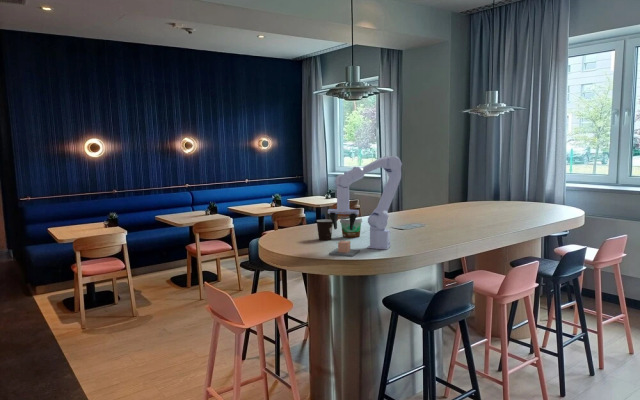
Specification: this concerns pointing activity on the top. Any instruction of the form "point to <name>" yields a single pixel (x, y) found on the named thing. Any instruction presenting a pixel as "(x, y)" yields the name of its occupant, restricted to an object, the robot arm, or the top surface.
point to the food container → (346, 228)
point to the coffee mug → (324, 229)
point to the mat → (350, 253)
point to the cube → (344, 246)
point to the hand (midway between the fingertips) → (343, 229)
